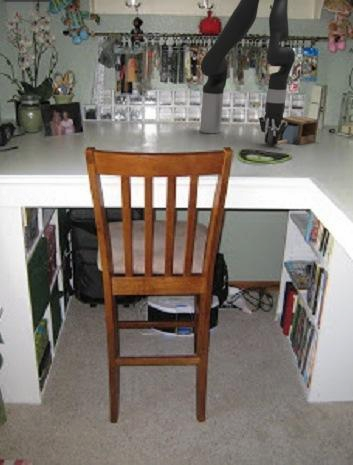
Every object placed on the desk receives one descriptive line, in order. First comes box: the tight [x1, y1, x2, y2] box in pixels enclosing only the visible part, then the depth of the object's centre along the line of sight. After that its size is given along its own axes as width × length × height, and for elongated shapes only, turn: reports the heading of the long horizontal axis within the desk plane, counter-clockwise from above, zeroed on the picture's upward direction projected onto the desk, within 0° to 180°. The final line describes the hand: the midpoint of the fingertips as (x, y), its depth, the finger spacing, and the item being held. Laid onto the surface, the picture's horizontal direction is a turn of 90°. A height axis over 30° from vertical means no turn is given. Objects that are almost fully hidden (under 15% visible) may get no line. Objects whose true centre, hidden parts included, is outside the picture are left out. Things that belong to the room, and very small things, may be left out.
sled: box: [266, 124, 299, 147], centre depth 196 cm, size 18×5×7 cm, turn 131°
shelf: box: [278, 115, 319, 146], centre depth 201 cm, size 12×11×10 cm
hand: (270, 143), depth 193 cm, fingers closed on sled, 3 cm apart
